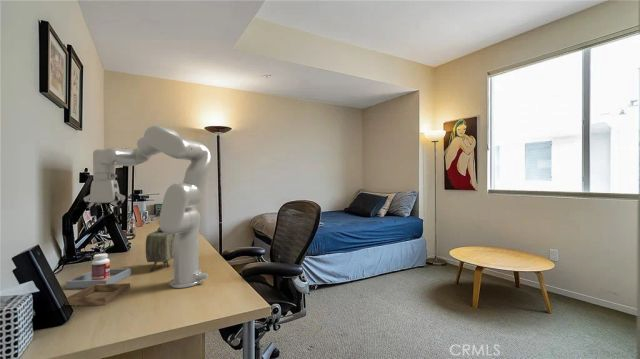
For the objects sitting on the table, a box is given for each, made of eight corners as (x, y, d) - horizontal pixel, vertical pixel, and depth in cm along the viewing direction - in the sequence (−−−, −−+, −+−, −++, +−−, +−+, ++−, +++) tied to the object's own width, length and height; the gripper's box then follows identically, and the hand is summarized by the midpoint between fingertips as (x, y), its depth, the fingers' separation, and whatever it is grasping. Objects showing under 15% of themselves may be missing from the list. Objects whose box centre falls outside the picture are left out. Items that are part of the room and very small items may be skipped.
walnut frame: (130, 289, 110) (130, 283, 110) (105, 304, 97) (105, 297, 97) (94, 290, 110) (94, 284, 110) (64, 305, 96) (64, 298, 96)
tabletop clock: (163, 262, 147) (163, 215, 147) (180, 262, 147) (180, 215, 147) (145, 271, 132) (145, 219, 133) (164, 271, 132) (163, 219, 132)
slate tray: (130, 275, 128) (130, 268, 128) (106, 288, 112) (106, 280, 112) (95, 275, 127) (95, 269, 127) (66, 289, 112) (66, 281, 112)
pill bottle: (109, 281, 119) (109, 255, 119) (90, 284, 115) (90, 257, 116) (110, 276, 124) (110, 252, 124) (92, 279, 121) (92, 254, 121)
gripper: (129, 177, 129) (130, 214, 128) (90, 178, 128) (91, 215, 127) (118, 176, 121) (119, 216, 121) (77, 177, 120) (77, 217, 120)
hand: (105, 215), depth 124 cm, fingers open, 9 cm apart
